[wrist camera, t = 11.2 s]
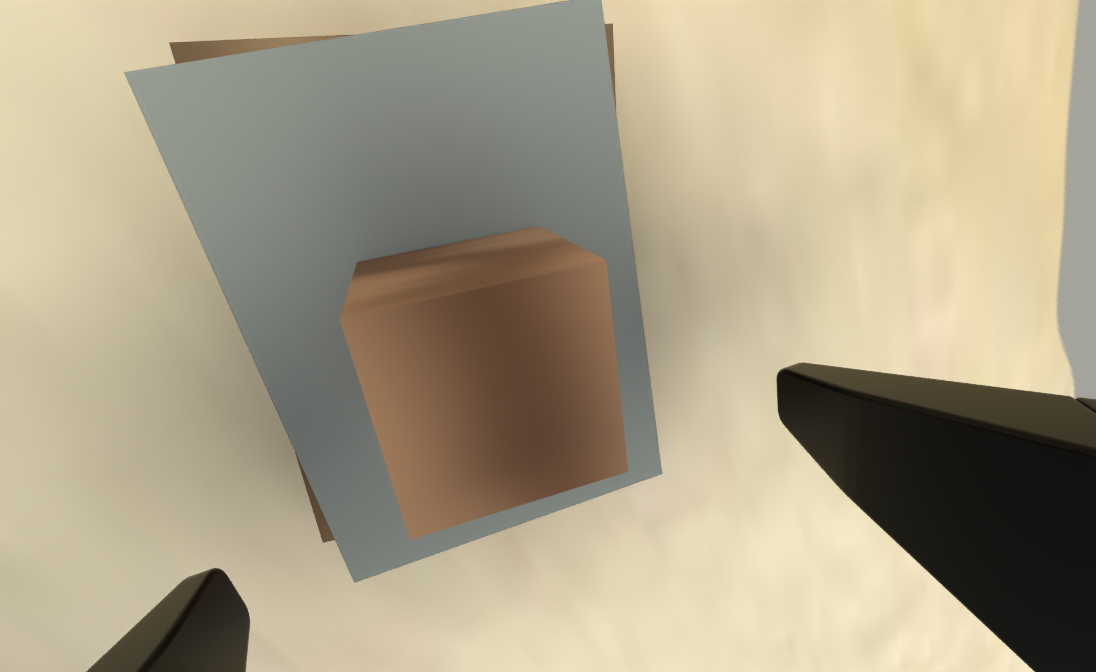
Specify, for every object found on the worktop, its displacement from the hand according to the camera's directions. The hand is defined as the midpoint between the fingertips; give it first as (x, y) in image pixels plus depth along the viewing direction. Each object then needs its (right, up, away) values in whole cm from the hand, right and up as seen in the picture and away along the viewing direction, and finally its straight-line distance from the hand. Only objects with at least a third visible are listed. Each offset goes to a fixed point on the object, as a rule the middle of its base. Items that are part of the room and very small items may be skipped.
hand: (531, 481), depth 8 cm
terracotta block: (-2, +2, +7) cm, 8 cm away
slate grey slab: (-3, +3, +9) cm, 10 cm away
